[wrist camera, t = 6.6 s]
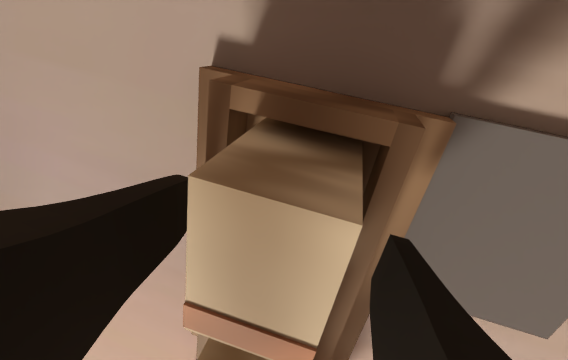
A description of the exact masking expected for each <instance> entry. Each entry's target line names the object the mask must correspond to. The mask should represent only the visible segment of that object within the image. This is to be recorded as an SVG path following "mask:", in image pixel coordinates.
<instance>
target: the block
mask: <svg viewBox="0 0 568 360" xmlns="http://www.w3.org/2000/svg"><path fill="white" fill-rule="evenodd" d="M197 360H268V359H265V358H262V357H260V356H257V355H254V354H252V353H249V352H246V351H243V350H241V349H238V348H235V347H233V346H230V345H227V344H224V343H222V342H219V341H216V340H214V339H211V338H208V340H207V342H206V344H205V346H204V348H203V350H202V352H201V354H200V355H199V357H198V359H197Z"/></svg>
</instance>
